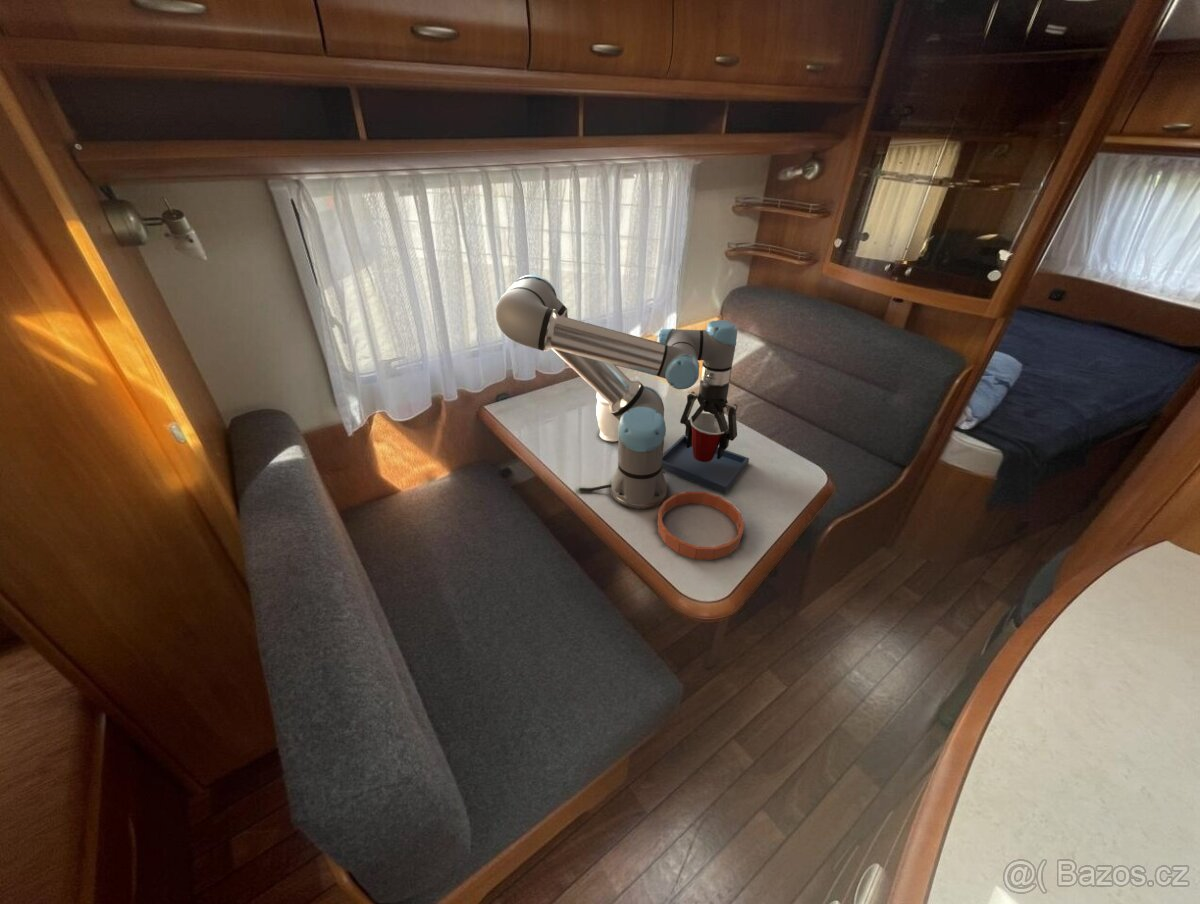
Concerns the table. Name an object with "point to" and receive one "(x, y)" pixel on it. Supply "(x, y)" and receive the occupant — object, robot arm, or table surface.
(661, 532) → the ring
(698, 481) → the tray
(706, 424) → the plastic cup
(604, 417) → the jar
